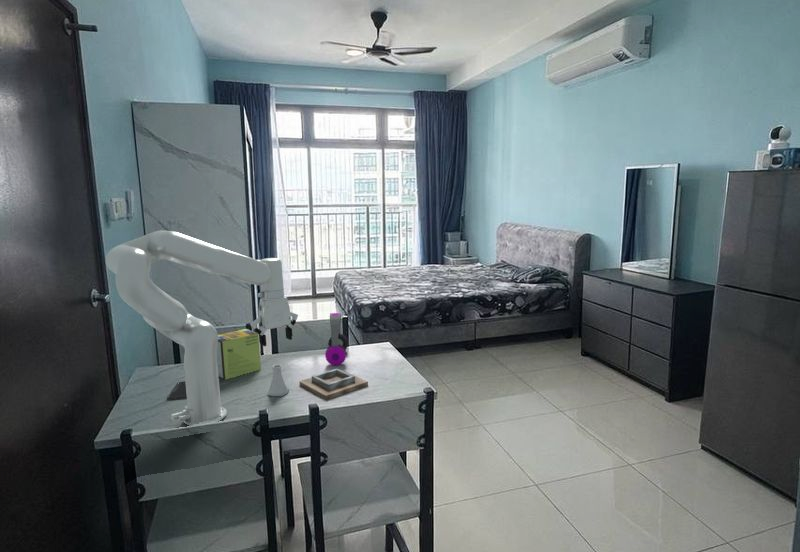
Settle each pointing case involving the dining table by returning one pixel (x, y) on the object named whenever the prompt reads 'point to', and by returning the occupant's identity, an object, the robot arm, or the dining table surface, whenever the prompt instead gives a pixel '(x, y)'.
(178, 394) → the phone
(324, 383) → the holder
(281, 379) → the flask
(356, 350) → the dining table surface
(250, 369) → the protein box
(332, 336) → the headphones
